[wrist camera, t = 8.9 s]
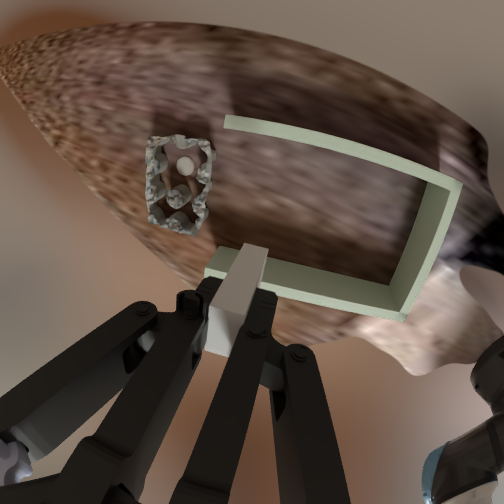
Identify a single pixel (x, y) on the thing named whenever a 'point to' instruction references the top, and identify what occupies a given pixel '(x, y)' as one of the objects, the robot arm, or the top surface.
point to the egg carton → (181, 192)
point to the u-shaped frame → (341, 286)
